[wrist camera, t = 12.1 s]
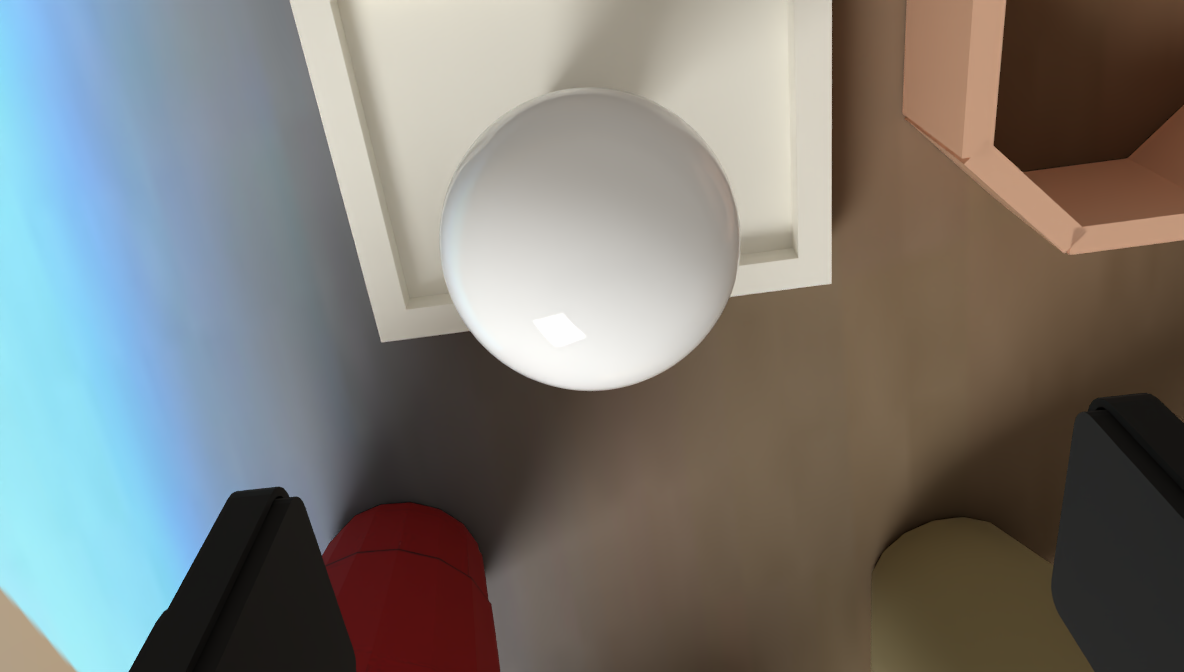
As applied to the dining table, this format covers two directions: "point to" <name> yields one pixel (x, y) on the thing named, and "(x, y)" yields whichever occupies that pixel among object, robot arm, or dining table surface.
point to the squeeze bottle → (966, 604)
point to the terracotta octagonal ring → (1042, 197)
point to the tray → (555, 62)
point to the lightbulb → (590, 239)
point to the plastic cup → (412, 592)
